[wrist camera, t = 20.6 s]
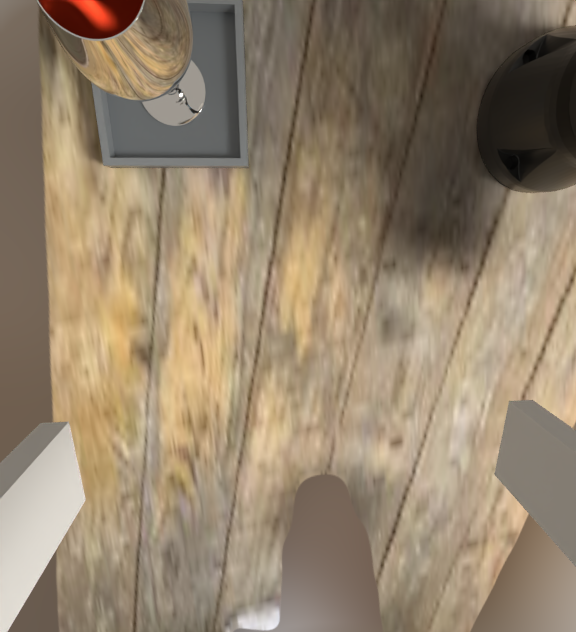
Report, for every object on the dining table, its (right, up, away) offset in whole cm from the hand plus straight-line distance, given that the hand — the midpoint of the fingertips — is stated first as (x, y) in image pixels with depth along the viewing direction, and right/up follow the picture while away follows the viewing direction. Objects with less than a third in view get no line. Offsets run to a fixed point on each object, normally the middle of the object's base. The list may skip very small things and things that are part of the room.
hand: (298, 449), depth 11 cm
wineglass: (-11, +26, +24) cm, 37 cm away
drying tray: (-12, +26, +24) cm, 38 cm away
